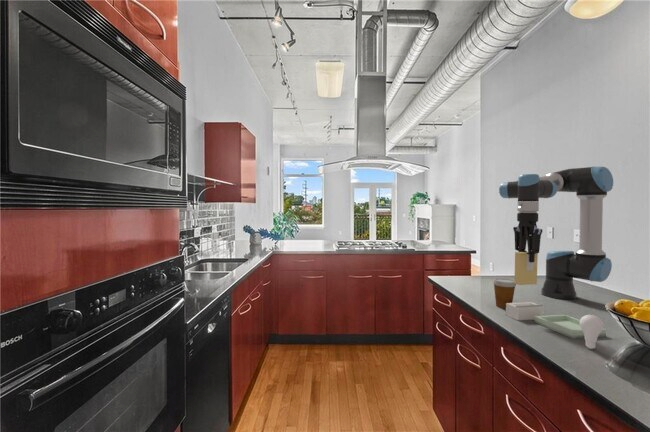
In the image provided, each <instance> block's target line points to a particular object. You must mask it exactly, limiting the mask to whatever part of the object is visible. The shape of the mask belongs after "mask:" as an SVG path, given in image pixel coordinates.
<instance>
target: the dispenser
mask: <svg viewBox="0 0 650 432" xmlns="http://www.w3.org/2000/svg"><path fill="white" fill-rule="evenodd" d="M505 316H507V317H510V318H512V319H514V320H516V321H532V320H534V321H535V316H545V306H544V305H543V304H538V303H535V302H532V301H526V302H525V301H524V302H512V303H506V308H505Z"/></svg>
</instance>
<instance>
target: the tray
mask: <svg viewBox="0 0 650 432" xmlns="http://www.w3.org/2000/svg"><path fill="white" fill-rule="evenodd" d="M534 323H535V324H538V325H540V326H542V327H544V328H546V329H550V330H552V331H554V332H556V333H559V334H561V335H563V336H566V337H568V338H569V339H585V336H584V332H583V330H582V329H581V327H580V319H578V318H575V317H573V316H571V315H567V314H553V315H549V314H548V315H544V316H535V319H534ZM606 336H607V329H606V328H604V327H603V330H602V331H601V333H600V334H599V335H598V338H599V337H600V338H601V337H606Z"/></svg>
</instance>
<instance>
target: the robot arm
mask: <svg viewBox="0 0 650 432" xmlns="http://www.w3.org/2000/svg"><path fill="white" fill-rule="evenodd" d="M613 187H614V177H613V174H612V172H611V171H610V170H609V168H607V167H605V166H587V167H586V166H585V167H577V168H576V167H575V168H567V169H562V170H559V171H555V172H550V173H548V174H546V175H544V176H540V175H539V174H537V173H529V174H528V173H525V174H520V175H519V176H518V179H517V180H514V181H504V182H502V183H500V185H499V188H498V191H499V192H498V193H499V195H500V197H501V198H503V199H517V211H518V212H517V214H516V220H517V222H518V225H517V226H513V232H514V250H515V251H516V252H528V253H527V257H526V270H533V264H534V258H535V254H536V253H538V254H539V253H540V249H541V248H540V247H541V239H542V234H543V229H542V228H538V225H537V223H538V222H539V213H538V212H540V211H539V209H540V208H539V206H540V205H539V200H540V199H549V198H553V197H554V196H555V195H556V194H557V192H563V193H565V192H566V193H575V194H576V197H577V198H578V199H579V246H578V247H579V248H578V249H577V250H576V251H575V252H574V251H573V250H551V251H549V252H547V253H546V259H545V280H544V282H543V286H542V287H541V288H540V289H541V292H540V294H541V295H543V296H545V297H550V298H554V299H559V300H560V299H561V300H575V299H577V295H578V294H577V292H576V290H575V285H574V281H573V280H574V279H580V280H585V281H590V282H597V283H602V282H605V281H607V279H608V278H609V276H610V274H611V271H612V268H613V267H612V266H613V263H612V260H611V259H610V258H608V257H606V256H607V253H606V252H605V251H604V250H603V209H604V208H603V204H604V203H603V202H604V201H603V200H604V198H606V197H608V192H611V191H612V190H613ZM526 249H527V250H526Z"/></svg>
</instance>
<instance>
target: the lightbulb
mask: <svg viewBox="0 0 650 432" xmlns="http://www.w3.org/2000/svg"><path fill="white" fill-rule="evenodd" d="M579 320H580V327H581V329H582V330H583V332H584V336H585V338H584V340H585V347H586V348H588V350H593V349H596V345H597V342H598V338H599V337H598V335H599V334H600V333H601V331H602V330H603V328H604V322H603V321H602V320H601V318H599V317H598V316H596V315H593V314H586V315H583V316H582V317H581V318H580V319H579Z"/></svg>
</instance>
